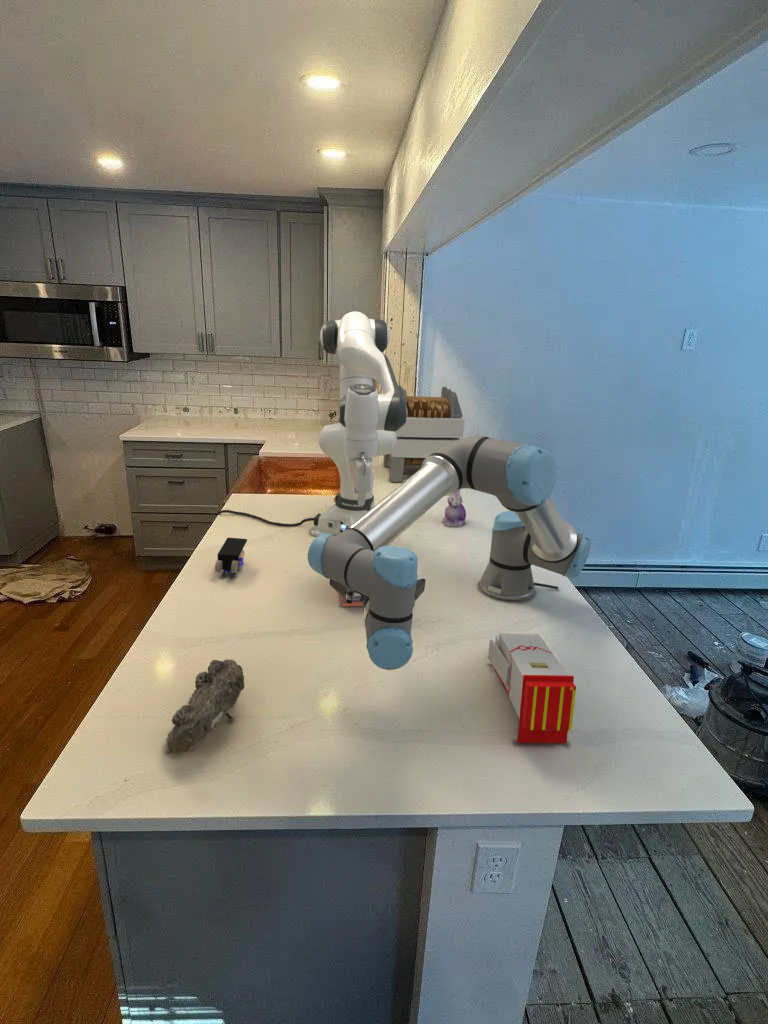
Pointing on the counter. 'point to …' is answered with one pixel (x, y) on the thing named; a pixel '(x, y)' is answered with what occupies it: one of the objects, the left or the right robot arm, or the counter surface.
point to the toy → (534, 687)
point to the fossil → (206, 705)
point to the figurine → (455, 510)
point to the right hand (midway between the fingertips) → (375, 567)
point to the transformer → (424, 430)
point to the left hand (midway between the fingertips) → (359, 498)
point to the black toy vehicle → (230, 556)
